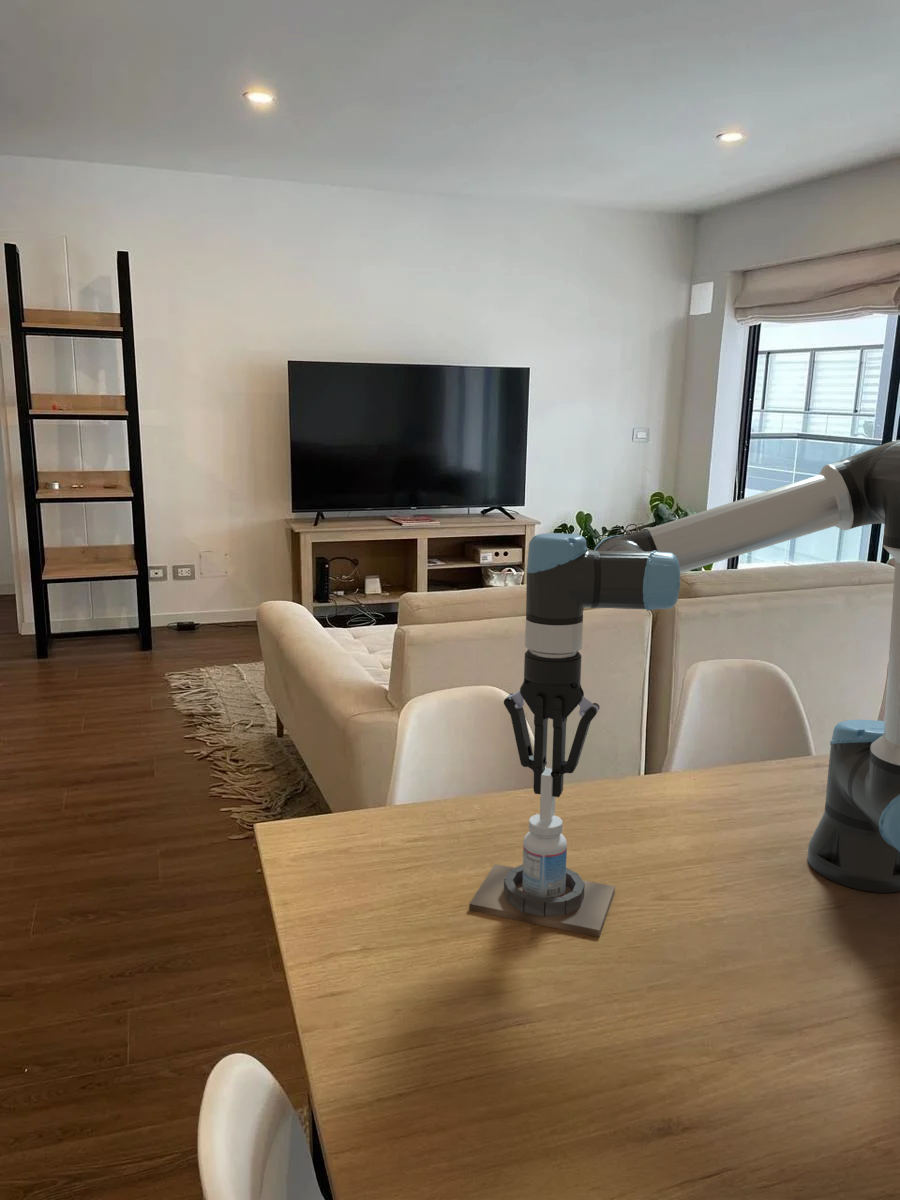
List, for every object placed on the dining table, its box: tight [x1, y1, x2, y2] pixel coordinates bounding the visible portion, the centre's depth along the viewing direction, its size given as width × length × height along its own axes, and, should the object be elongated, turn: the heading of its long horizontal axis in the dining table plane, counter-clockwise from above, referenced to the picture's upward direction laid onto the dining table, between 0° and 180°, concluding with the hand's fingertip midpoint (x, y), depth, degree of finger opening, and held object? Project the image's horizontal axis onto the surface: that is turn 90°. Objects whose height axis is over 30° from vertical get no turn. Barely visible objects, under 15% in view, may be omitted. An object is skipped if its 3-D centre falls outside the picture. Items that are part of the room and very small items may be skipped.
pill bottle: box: [522, 813, 568, 898], centre depth 123 cm, size 6×6×11 cm
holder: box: [468, 863, 616, 938], centre depth 124 cm, size 18×12×3 cm, turn 70°
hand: (547, 816), depth 122 cm, fingers closed
